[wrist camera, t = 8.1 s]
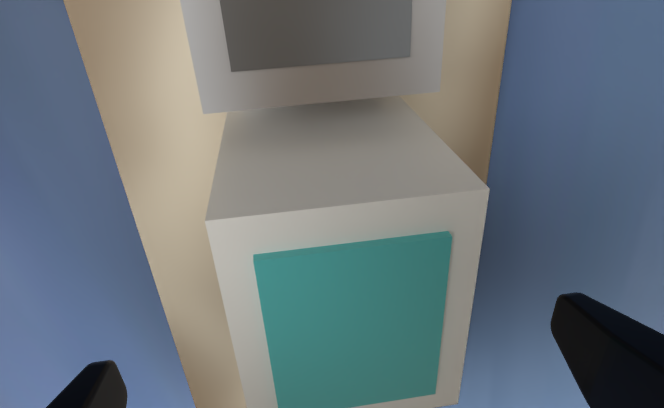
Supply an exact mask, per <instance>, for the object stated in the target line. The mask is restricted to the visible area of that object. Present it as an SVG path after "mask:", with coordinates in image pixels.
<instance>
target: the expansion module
mask: <svg viewBox="0 0 664 408" xmlns="http://www.w3.org/2000/svg"><path fill="white" fill-rule="evenodd" d="M489 191H490V188H489V187H488V186H487V185H486V184H485V183H484V182H483V181H482V180H481V179H480V178H479V177H478V176H477V175H476V174H475V173H474V172H473V171H472V170H471V169H470V168H469V167H468V166H467V165H466V164H465V163H464V162H463V161H462V160H461V159H460V158H459V157H458V156H457V155H456V154H455V153H454V152H453V151H452V150H451V149H450V148H449V147H448V146H447V144H446V143H445V142H444V141H443V140H442V139H441V138H440V137H439V136H438V135H437V134H436V133H435V132H434V131H433V130H432V129H431V128H430V127H429V126H428V125H427V124H426V123H425V122H424V121H423V120H422V119H421V118H420V117H419V116H418V115H417V114H416V113H415V112H414V111H413V110H412V109H411V108H410V107H409V106H408V105H407V104H406V103H405V102H404V100H403V99H402V98H401V97H400V96H390V97H380V98H369V99H359V100H348V101H337V102H327V103H316V104H306V105H295V106H284V107H274V108H263V109H253V110H242V111H232V112H227V115H226V120H225V125H224V129H223V134H222V139H221V144H220V149H219V154H218V159H217V164H216V168H215V173H214V178H213V183H212V188H211V193H210V198H209V203H208V207H207V212H206V217H205V224H206V229H207V233H208V238H209V242H210V247H211V251H212V255H213V260H214V264H215V269H216V273H217V278H218V282H219V286H220V291H221V295H222V300H223V304H224V309H225V313H226V317H227V322H228V326H229V331H230V335H231V340H232V344H233V348H234V353H235V357H236V362H237V366H238V371H239V375H240V380H241V384H242V388H243V393H244V397H245V402H246V406H247V408H435V407H442V406H448V405H454V404H458V399H459V393H460V386H461V379H462V373H463V366H464V359H465V352H466V346H467V339H468V332H469V325H470V319H471V312H472V305H473V299H474V292H475V285H476V278H477V272H478V265H479V258H480V252H481V245H482V238H483V231H484V225H485V218H486V211H487V204H488V198H489Z"/></svg>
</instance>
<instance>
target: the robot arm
mask: <svg viewBox="0 0 664 408" xmlns="http://www.w3.org/2000/svg"><path fill="white" fill-rule="evenodd" d="M551 331H552V334H553V336H554V338H555V340H556V342H557V344H558V346H559V348H560V350H561V352H562V354H563V356H564V358H565V360H566V362H567V364H568V366H569V368H570V370H571V372H572V374H573V376H574V378H575V380H576V382H577V384H578V386H579V388H580V390H581V392H582V394H583V396H584V398H585V400H586V401H587V403H588V405H589V406H590V408H664V335H663V334H661V333H659V332H657V331H655V330H653V329H651V328H649V327H647V326H645V325H643V324H641V323H640V322H638V321H636V320H634V319H632V318H630V317H628V316H626V315H624V314H622V313H620V312H618V311H616V310H614V309H612V308H610V307H608V306H606V305H604V304H602V303H600V302H598V301H596V300H594V299H592V298H590V297H588V296H586V295H584V294H582V293H577V292H576V293H569V294H562V295H560V296H559V297H558V298H557V301H556V304H555V308H554V312H553V316H552V319H551ZM126 404H127V390H126V386H125V384H124V381H123V379H122V377H121V375H120V372H119V370H118V368H117V365H116V364H115V362H114V361H112V360H107V361H100V362H94V363H91V364H89V365H87V366H86V367H85V368H84V369H83V370H82V371H81V372H80V373H79V374H78V375H77V376H76V377H75V378H74V379H73V380H72V381H71V382H70V383H69V385H68V386H67V387H66V388H65V389H64V390H63V391H62V392H61V393H60V394H59V395H58V396H57V397H56V398H55V399H54V400H53V401H52V402H51V403H50V404H49V405H48V406H47V407H46V408H126Z"/></svg>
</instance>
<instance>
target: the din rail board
mask: <svg viewBox="0 0 664 408" xmlns="http://www.w3.org/2000/svg"><path fill="white" fill-rule="evenodd" d="M63 1H64V4H65V7H66V10H67V13H68V16H69V19H70V22H71V25H72V28H73V31H74V34H75V38H76V41H77V44H78V47H79V50H80V53H81V56H82V59H83V62H84V65H85V68H86V71H87V74H88V78H89V81H90V84H91V87H92V90H93V93H94V96H95V99H96V102H97V105H98V108H99V111H100V114H101V117H102V121H103V124H104V127H105V130H106V133H107V136H108V139H109V142H110V145H111V148H112V151H113V154H114V157H115V161H116V164H117V167H118V170H119V173H120V176H121V179H122V182H123V185H124V188H125V191H126V194H127V197H128V200H129V204H130V207H131V210H132V213H133V216H134V219H135V222H136V225H137V228H138V231H139V234H140V237H141V240H142V244H143V247H144V250H145V253H146V256H147V259H148V262H149V265H150V268H151V271H152V274H153V277H154V280H155V283H156V287H157V290H158V293H159V296H160V299H161V302H162V305H163V308H164V311H165V314H166V317H167V320H168V323H169V326H170V330H171V333H172V336H173V339H174V342H175V345H176V348H177V351H178V354H179V357H180V360H181V363H182V366H183V370H184V373H185V376H186V379H187V382H188V385H189V388H190V391H191V394H192V397H193V400H194V403H195V406H196V408H247V406H246V402H245V397H244V393H243V388H242V384H241V380H240V375H239V371H238V366H237V362H236V357H235V353H234V348H233V344H232V340H231V335H230V331H229V326H228V322H227V317H226V313H225V309H224V304H223V300H222V295H221V291H220V286H219V282H218V278H217V273H216V269H215V264H214V260H213V255H212V251H211V247H210V242H209V238H208V233H207V229H206V224H205V217H206V212H207V207H208V203H209V198H210V193H211V188H212V183H213V178H214V173H215V168H216V164H217V159H218V154H219V149H220V144H221V139H222V134H223V129H224V125H225V120H226V115H227V112H232V111H242V110H253V109H263V108H274V107H284V106H295V105H306V104H316V103H327V102H337V101H348V100H359V99H369V98H380V97H390V96H400V97H401V98H402V99H403V100H404V102H405V103H406V104H407V105H408V106H409V107H410V108H411V109H412V110H413V111H414V112H415V113H416V114H417V115H418V116H419V117H420V118H421V119H422V120H423V121H424V122H425V123H426V124H427V125H428V126H429V127H430V128H431V129H432V130H433V131H434V132H435V133H436V134H437V135H438V136H439V137H440V138H441V139H442V140H443V141H444V142H445V143H446V144H447V146H448V147H449V148H450V149H451V150H452V151H453V152H454V153H455V154H456V155H457V156H458V157H459V158H460V159H461V160H462V161H463V162H464V163H465V164H466V165H467V166H468V167H469V168H470V169H471V170H472V171H473V172H474V173H475V174H476V175H477V176H478V177H479V178H480V179H481V180H482V181H483V182H484V183H485V184H486V183H487V176H488V169H489V161H490V154H491V147H492V140H493V132H494V125H495V118H496V111H497V103H498V96H499V89H500V82H501V74H502V67H503V60H504V53H505V45H506V38H507V31H508V24H509V16H510V9H511V2H512V0H63Z"/></svg>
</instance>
